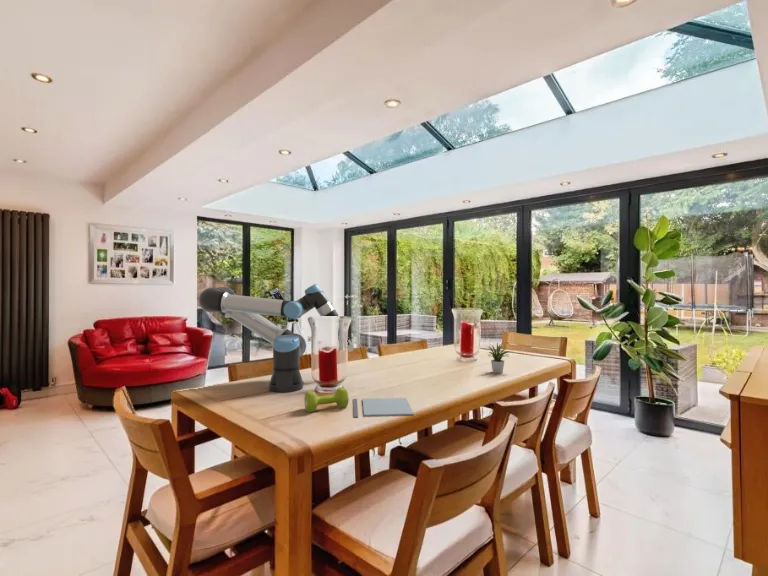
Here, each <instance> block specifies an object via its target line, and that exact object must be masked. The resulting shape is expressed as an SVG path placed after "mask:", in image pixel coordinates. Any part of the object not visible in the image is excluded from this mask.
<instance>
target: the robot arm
mask: <svg viewBox="0 0 768 576" xmlns="http://www.w3.org/2000/svg"><path fill="white" fill-rule="evenodd" d="M304 293H305V294H304V295H303V296H302V297H300V298H299V299H297V300H285V299H275V298H268V297H259V296H258V297H257V296H248V295H247V296H246V295H239V294H236V293H235V292H234V290H232V289H231V288H229V287H225V286H218V287H207V288H206V289H204V290H202V292H201V293H200V294H199V297H198V304H199V306H200V307H201V309H202V310H204V311H205V312H207V313H217V314H219V315H221V316H222V317H223V318H225V319H226V318H227V319H228V318H231V319H232V320H234V321H236V322H237V323H239V324H240V325H242V326H243V327H245V328H247V329H248V330H249V331H251V332H253V333H254V334H256V335H257V336H259V337H260V338H262V339H263V340H265V341H267V342H268V343H270V344H271V347H272V373H271V376H270V380H269V383H268V390H269V391H271V392H277V393H291V392H296V391H300V390H302V389H303V388H304V380H303V377H302V375H301V374H302V373H301V371H300V358H301V357H302V356H303V355H304V353H305V351H306V349H307V342H306V339H305V337H303V335H301V334H299V333H294V332H293V331H291V330H290V329H288V328H283V329H282V328H281V327H280V326H278V325H276V324H275V323H274V322H272V321H270V320H269V319H267V318H265V317H264V316H263V315H265V316H276V317H284V318H289V319H292V320H294V321H295V320H298V319H299V318H301V317H302V316H304V315H305V314H307V313H308V312H310V311H311V310H313V309H315V310H316V312H317V313H318V315H319V316H320V317H322V316H337V317H339V313H338V312H337V311H336V309H334V306H333V302H330V300H329V299H328V297H327V296H326V294H325V292H324V291H323V290H322V288H321V287H320V286H319V285H318V283H313V284H312V285H310V286H308V287H307V288H305V290H304ZM347 342H348V349H347V350H348V352H349V353H351V352H353V351H354V350H355V345H354V343H353V342H352V341H351V339H350V338H349V340H348V339H347Z"/></svg>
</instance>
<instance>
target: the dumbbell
mask: <svg viewBox="0 0 768 576" xmlns="http://www.w3.org/2000/svg"><path fill="white" fill-rule="evenodd" d="M349 399H350V398H349V392H348V390H347V388H345V387H342V386H341V387H338V388H337V389H336V391H335V393H334V394H327V395H321V396H318V395H317V394H316V393H315V392H314V391H312V390H307V391H306V392H305V394H304V398H303V400H304V401H303V402H304V403H303V404H304V408H305V410H306V412H308V413H313V412H315V411H317V407H318V406H319V405H327V404H329V405H330V404H334V403H336V406H337V407H339V408H340V409H344V408H347V407H348V404H349V401H350V400H349Z"/></svg>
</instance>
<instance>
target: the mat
mask: <svg viewBox="0 0 768 576" xmlns="http://www.w3.org/2000/svg"><path fill="white" fill-rule="evenodd" d="M361 400H362V409H363V417H389V416H392V417H396V416H397V417H398V416H414V415H415V414H414V411H413V409H412V407H411V405H410V404H409V401H408V399H407V398H406V397H381V398H380V397H379V398H375V397H374V398H371V397H370V398H362V399H361Z"/></svg>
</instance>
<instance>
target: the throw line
mask: <svg viewBox="0 0 768 576" xmlns="http://www.w3.org/2000/svg"><path fill="white" fill-rule="evenodd" d="M352 408H353V410H352V411H353V415H352V416H353V418H357V419H358V418H359V412H358V409H359V408H358V399H357V398H353V399H352Z"/></svg>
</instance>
